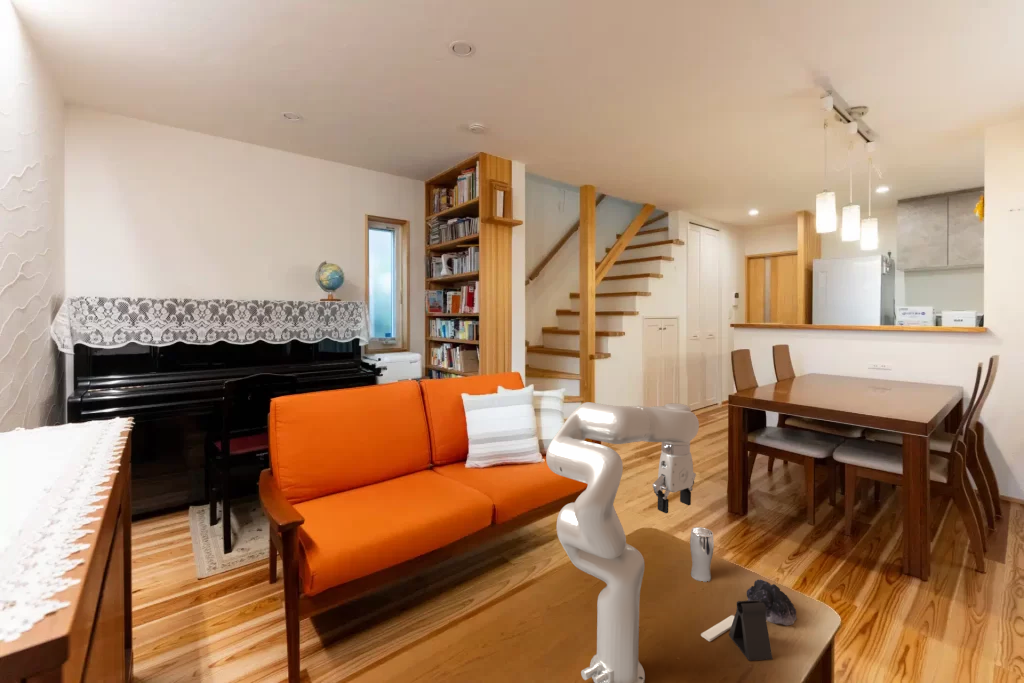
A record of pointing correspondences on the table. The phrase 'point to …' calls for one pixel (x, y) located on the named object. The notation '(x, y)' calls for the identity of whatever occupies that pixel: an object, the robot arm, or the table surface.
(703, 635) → the cream panel
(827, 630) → the table surface
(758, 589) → the black rock
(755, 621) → the phone stand
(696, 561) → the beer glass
